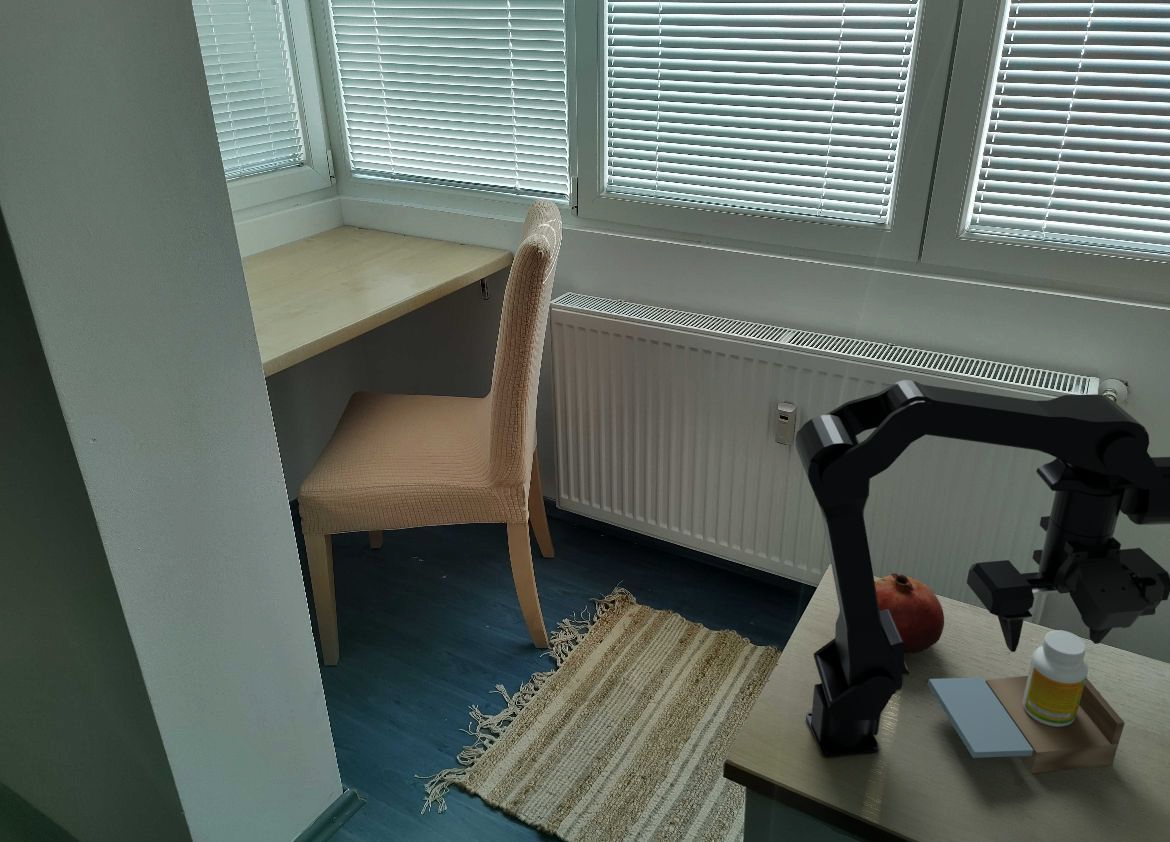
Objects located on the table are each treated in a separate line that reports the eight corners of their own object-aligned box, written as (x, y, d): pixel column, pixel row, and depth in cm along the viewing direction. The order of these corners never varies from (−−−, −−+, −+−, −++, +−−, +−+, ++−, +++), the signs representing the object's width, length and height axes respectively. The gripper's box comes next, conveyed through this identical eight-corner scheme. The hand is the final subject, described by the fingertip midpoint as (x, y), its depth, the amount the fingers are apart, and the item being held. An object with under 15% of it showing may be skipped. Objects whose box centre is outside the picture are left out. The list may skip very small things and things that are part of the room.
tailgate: (1030, 757, 95) (972, 759, 95) (980, 684, 105) (927, 686, 105) (1033, 750, 95) (974, 752, 94) (982, 677, 105) (929, 678, 104)
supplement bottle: (1081, 731, 98) (1100, 662, 93) (1027, 725, 99) (1044, 656, 94) (1068, 695, 102) (1086, 628, 98) (1017, 690, 103) (1032, 623, 99)
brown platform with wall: (1031, 773, 97) (1042, 731, 94) (981, 699, 106) (989, 659, 104) (1112, 764, 97) (1124, 722, 94) (1055, 691, 107) (1065, 652, 104)
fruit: (841, 651, 115) (847, 587, 110) (866, 608, 122) (873, 547, 118) (927, 681, 109) (937, 615, 105) (947, 634, 117) (958, 571, 112)
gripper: (1035, 578, 81) (1006, 709, 88) (1231, 560, 83) (1188, 690, 90) (975, 513, 91) (954, 634, 98) (1152, 497, 93) (1118, 618, 99)
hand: (1052, 645), depth 96 cm, fingers open, 9 cm apart
